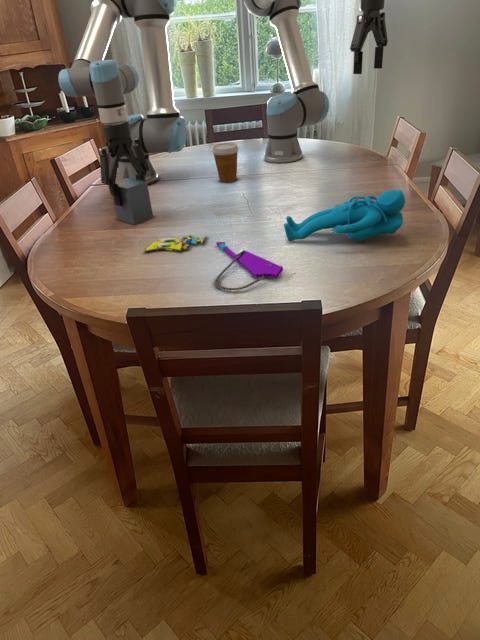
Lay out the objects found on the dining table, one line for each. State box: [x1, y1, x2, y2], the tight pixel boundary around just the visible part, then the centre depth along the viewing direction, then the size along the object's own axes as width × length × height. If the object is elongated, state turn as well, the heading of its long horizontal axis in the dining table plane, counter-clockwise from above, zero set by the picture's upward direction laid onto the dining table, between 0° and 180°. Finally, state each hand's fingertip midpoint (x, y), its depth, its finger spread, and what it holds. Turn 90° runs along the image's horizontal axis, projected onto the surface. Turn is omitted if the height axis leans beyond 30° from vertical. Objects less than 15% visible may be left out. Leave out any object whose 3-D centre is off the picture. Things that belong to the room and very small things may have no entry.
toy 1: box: [144, 234, 207, 254], centre depth 130 cm, size 10×1×15 cm
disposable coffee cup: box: [211, 142, 239, 183], centre depth 173 cm, size 10×10×12 cm
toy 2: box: [283, 189, 406, 243], centre depth 123 cm, size 17×11×30 cm
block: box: [111, 178, 154, 226], centre depth 148 cm, size 7×9×11 cm
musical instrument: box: [214, 241, 284, 291], centre depth 115 cm, size 24×2×20 cm
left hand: (131, 200), depth 147 cm, fingers open, 8 cm apart
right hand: (367, 71), depth 162 cm, fingers open, 13 cm apart
